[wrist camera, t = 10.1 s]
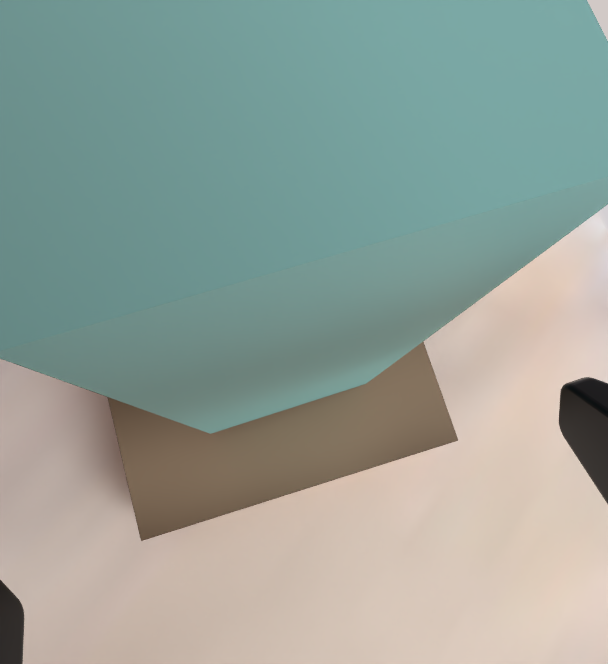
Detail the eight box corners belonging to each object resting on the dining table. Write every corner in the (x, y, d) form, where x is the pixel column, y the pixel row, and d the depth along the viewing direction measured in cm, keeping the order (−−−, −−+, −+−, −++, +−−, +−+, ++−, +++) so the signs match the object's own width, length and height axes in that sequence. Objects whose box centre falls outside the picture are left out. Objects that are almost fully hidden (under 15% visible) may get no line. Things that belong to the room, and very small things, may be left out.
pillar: (366, 384, 17) (669, 159, 4) (210, 433, 16) (-12, 354, 3) (316, 240, 18) (432, -304, 5) (167, 282, 17) (-129, -221, 4)
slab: (434, 439, 19) (458, 440, 16) (166, 524, 19) (141, 540, 16) (349, 194, 21) (357, 155, 18) (103, 264, 21) (69, 235, 18)
